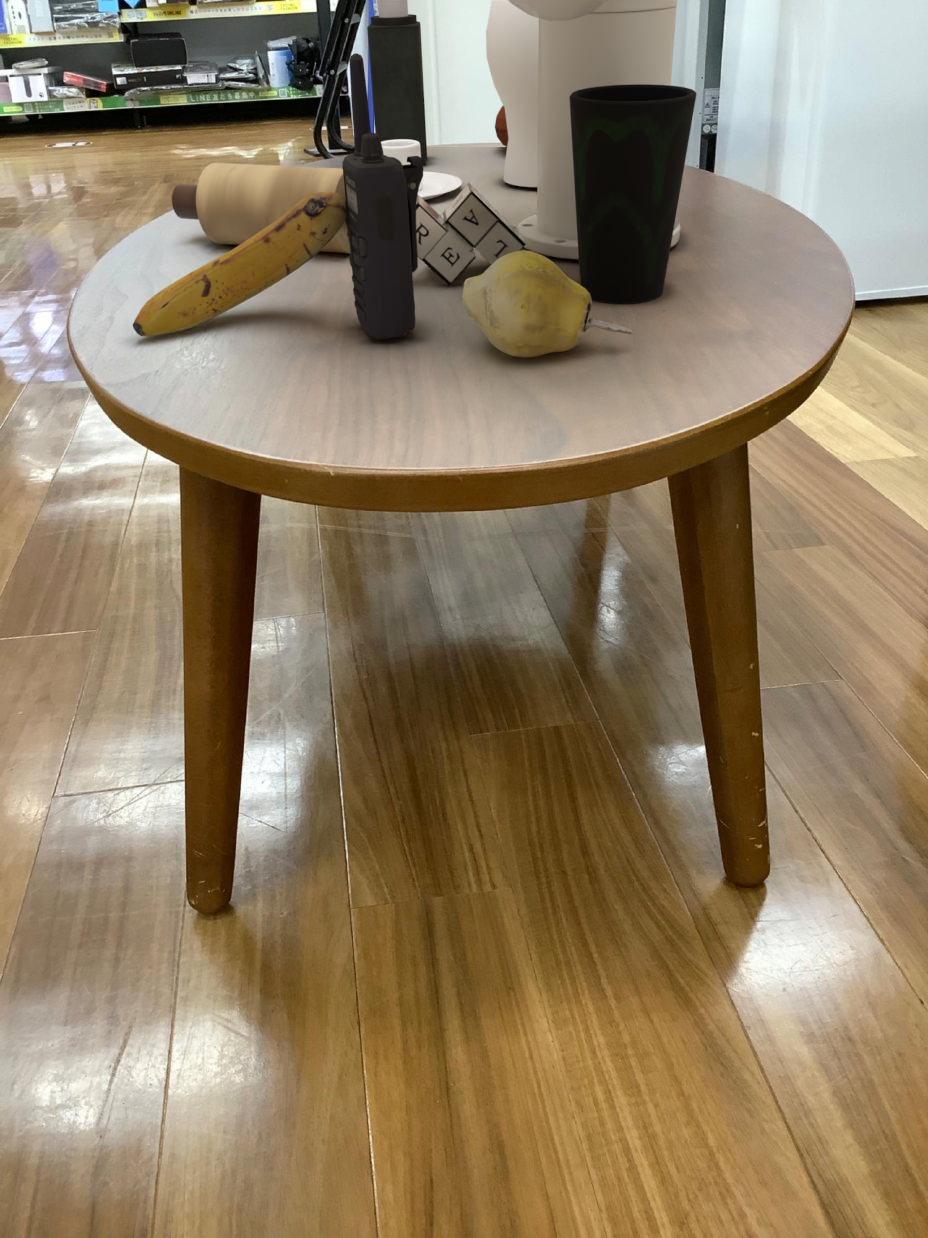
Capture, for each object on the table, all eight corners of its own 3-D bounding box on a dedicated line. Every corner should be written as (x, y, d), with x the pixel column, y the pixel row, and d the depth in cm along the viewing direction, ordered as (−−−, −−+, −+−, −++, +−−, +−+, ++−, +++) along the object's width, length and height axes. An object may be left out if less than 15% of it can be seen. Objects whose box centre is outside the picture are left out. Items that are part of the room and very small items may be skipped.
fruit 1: (308, 182, 54) (337, 233, 55) (352, 177, 62) (377, 222, 63) (99, 317, 60) (129, 363, 60) (165, 297, 68) (190, 337, 68)
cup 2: (565, 163, 102) (569, -10, 94) (619, 182, 94) (629, -5, 86) (470, 176, 99) (465, -3, 90) (518, 196, 91) (518, 3, 82)
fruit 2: (637, 370, 56) (460, 353, 55) (615, 363, 62) (454, 347, 61) (653, 261, 54) (470, 241, 54) (629, 264, 60) (464, 246, 59)
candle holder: (367, 214, 88) (363, 161, 86) (316, 190, 97) (310, 141, 94) (485, 195, 93) (484, 144, 90) (425, 173, 101) (423, 126, 99)
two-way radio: (350, 318, 64) (324, 51, 56) (417, 309, 65) (401, 46, 57) (371, 346, 60) (345, 61, 51) (441, 336, 61) (428, 55, 52)
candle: (425, 166, 105) (409, -133, 90) (376, 167, 105) (353, -130, 91) (427, 156, 109) (413, -131, 95) (381, 158, 109) (359, -128, 95)
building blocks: (472, 289, 76) (391, 214, 72) (521, 234, 74) (441, 154, 70) (477, 311, 71) (391, 232, 68) (530, 254, 69) (445, 170, 66)
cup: (687, 278, 70) (705, 84, 63) (668, 312, 64) (686, 102, 57) (579, 271, 72) (585, 83, 65) (552, 303, 66) (555, 101, 59)
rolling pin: (411, 244, 79) (407, 163, 76) (379, 265, 75) (372, 179, 71) (208, 230, 85) (195, 153, 82) (167, 248, 81) (151, 168, 77)
